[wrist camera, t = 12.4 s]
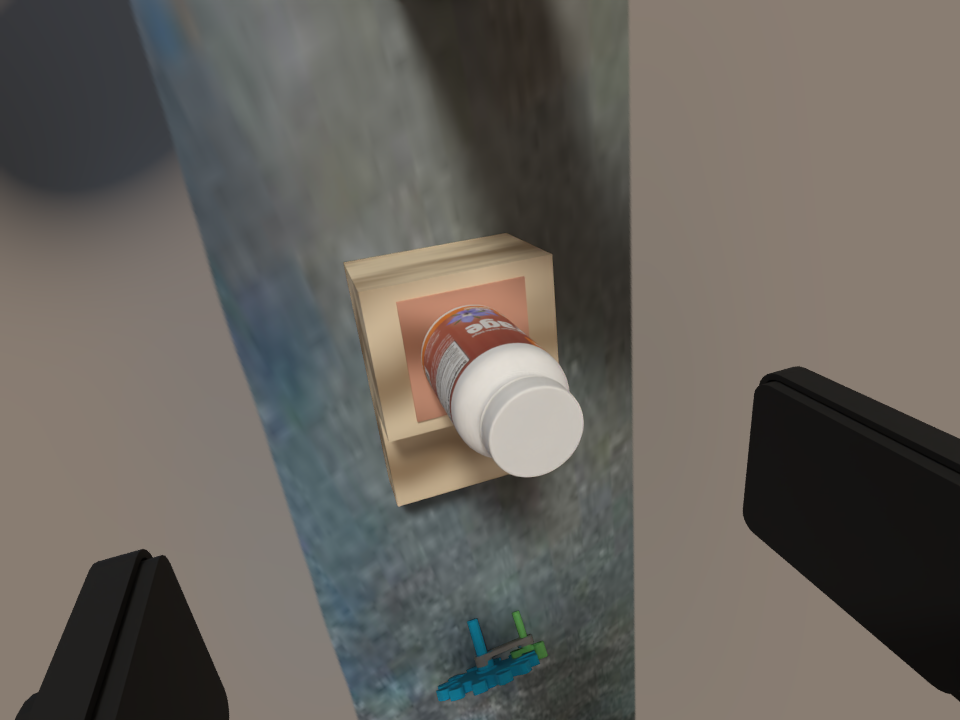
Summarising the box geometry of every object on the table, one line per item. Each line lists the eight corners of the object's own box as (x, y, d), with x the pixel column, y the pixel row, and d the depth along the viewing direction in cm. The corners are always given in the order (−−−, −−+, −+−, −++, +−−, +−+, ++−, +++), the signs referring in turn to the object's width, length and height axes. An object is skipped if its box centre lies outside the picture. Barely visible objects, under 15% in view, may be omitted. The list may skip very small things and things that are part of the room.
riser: (343, 262, 40) (358, 293, 32) (506, 232, 42) (553, 254, 35) (388, 478, 47) (409, 542, 40) (524, 440, 50) (567, 493, 43)
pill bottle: (528, 318, 36) (621, 389, 27) (491, 404, 38) (566, 502, 28) (439, 288, 34) (507, 354, 24) (403, 381, 35) (453, 480, 25)
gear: (428, 703, 56) (457, 715, 47) (411, 639, 57) (437, 639, 49) (527, 660, 60) (570, 663, 52) (508, 601, 62) (547, 595, 53)
